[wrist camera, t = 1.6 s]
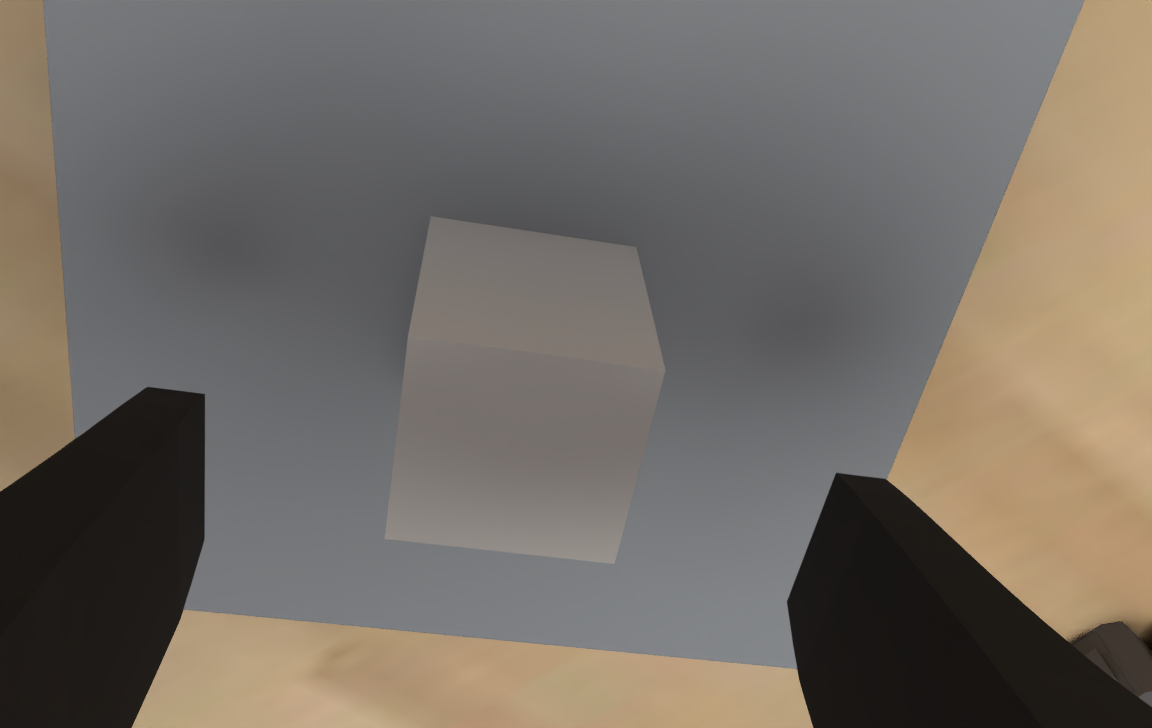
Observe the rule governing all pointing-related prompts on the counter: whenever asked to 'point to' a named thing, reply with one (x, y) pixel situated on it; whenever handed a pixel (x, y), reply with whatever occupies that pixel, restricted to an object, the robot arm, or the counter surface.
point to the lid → (530, 286)
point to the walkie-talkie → (1120, 657)
